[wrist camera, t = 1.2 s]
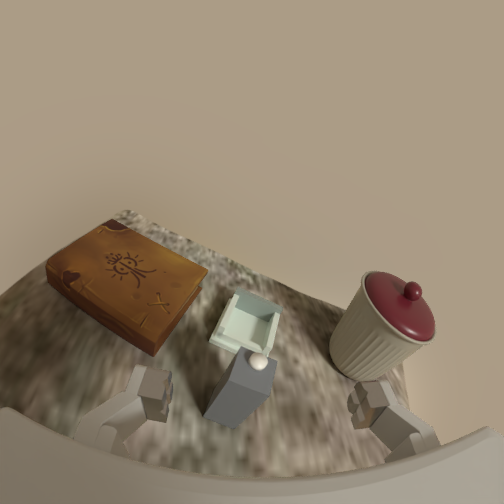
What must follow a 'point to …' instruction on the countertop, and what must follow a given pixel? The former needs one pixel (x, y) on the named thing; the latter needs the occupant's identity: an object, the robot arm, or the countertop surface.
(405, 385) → the countertop surface
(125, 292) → the diary
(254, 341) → the pocket
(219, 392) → the grey block with knob
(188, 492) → the robot arm
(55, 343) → the countertop surface
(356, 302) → the canister
